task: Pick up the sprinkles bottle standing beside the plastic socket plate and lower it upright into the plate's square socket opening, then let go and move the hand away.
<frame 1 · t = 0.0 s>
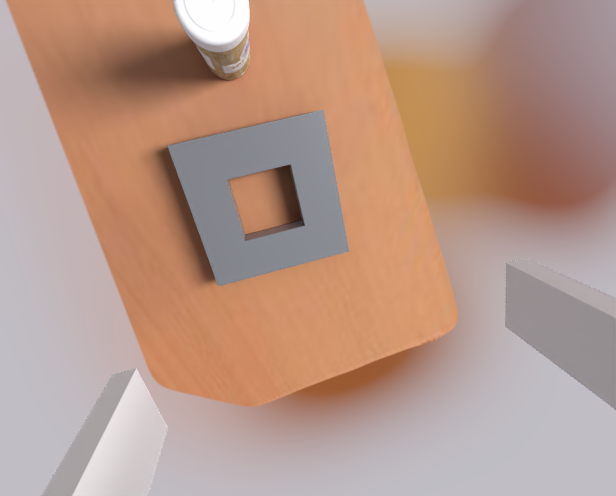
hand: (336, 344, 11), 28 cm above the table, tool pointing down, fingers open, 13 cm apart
sprinkles bottle: (227, 55, 32), on the table
socket plate: (266, 199, 37), on the table
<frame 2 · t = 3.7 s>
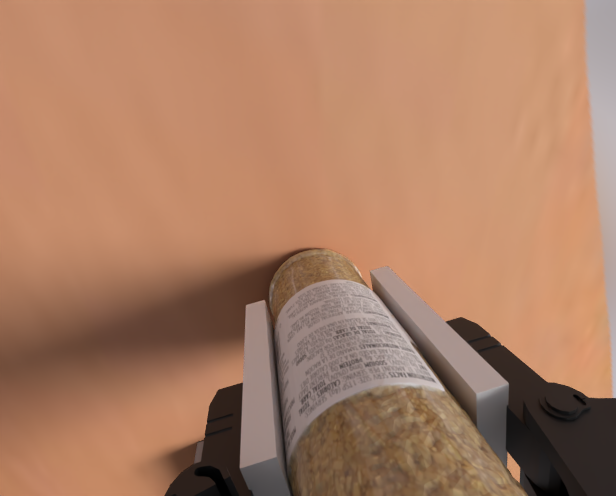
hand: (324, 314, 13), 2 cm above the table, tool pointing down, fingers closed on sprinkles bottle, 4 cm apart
sprinkles bottle: (314, 288, 15), on the table, touching gripper
when the fingers open (4 cm above the table, at t = 9.1 s): sprinkles bottle drops 2 cm, resting in socket plate.
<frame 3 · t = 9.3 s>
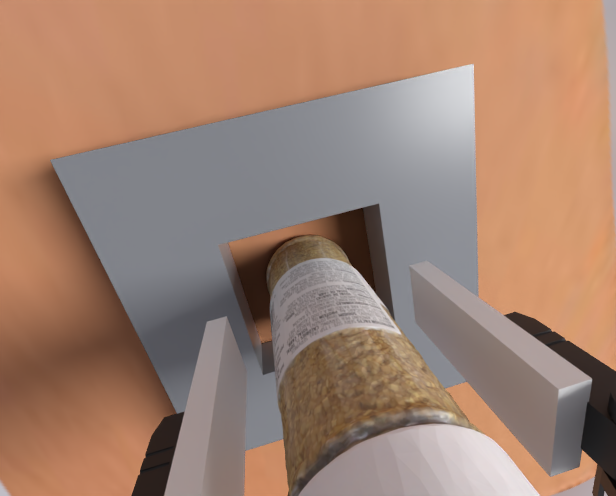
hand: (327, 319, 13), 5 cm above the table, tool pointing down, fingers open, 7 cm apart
sprinkles bottle: (306, 271, 17), resting in socket plate
socket plate: (308, 273, 17), on the table
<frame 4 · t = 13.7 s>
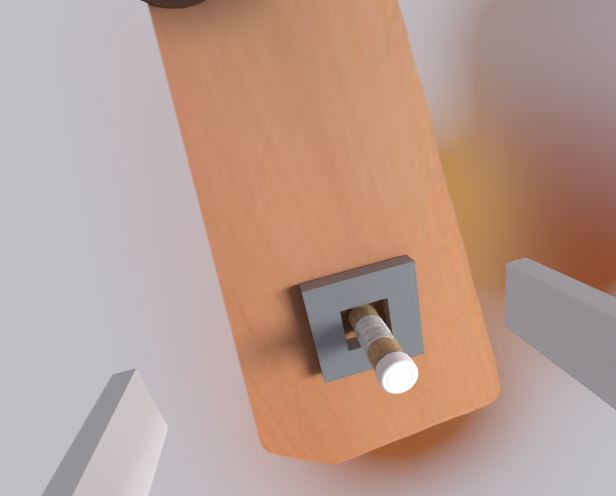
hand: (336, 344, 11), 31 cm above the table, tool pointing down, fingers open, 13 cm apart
sprinkles bottle: (361, 315, 48), resting in socket plate
socket plate: (361, 315, 48), on the table
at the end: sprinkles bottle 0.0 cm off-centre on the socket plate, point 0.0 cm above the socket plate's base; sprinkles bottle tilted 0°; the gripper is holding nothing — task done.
